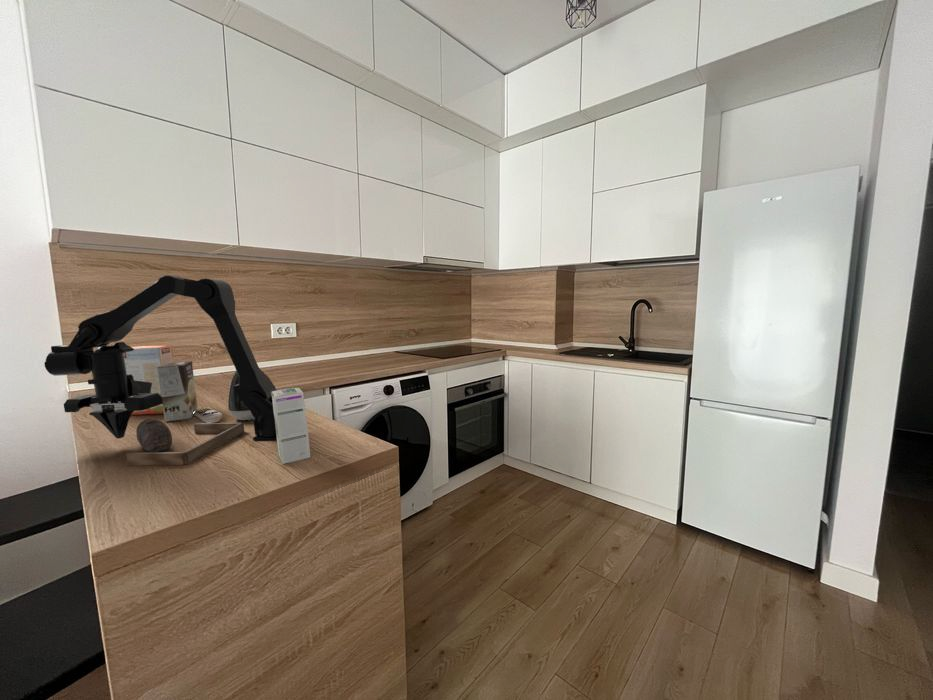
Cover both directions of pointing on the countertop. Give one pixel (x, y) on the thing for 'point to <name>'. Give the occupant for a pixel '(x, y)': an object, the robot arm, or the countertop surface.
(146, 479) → the countertop surface
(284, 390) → the syrup box
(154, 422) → the perforated stone tool
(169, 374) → the coffee box
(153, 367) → the cracker box
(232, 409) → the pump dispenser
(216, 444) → the walnut frame
